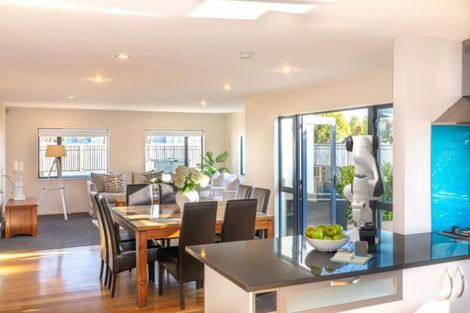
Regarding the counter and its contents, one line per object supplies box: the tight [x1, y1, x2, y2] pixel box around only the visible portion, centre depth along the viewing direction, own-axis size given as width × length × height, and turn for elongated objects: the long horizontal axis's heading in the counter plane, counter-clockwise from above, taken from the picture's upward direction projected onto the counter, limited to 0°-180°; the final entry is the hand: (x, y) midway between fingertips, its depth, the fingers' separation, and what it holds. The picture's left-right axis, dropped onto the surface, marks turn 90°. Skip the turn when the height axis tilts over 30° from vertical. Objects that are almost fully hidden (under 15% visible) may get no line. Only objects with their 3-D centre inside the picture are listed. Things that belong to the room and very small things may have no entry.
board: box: [329, 247, 373, 266], centre depth 246 cm, size 20×18×4 cm
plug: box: [354, 241, 369, 257], centre depth 248 cm, size 4×6×8 cm, turn 59°
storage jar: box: [359, 225, 377, 254], centre depth 264 cm, size 10×10×15 cm
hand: (361, 227), depth 248 cm, fingers open, 8 cm apart
